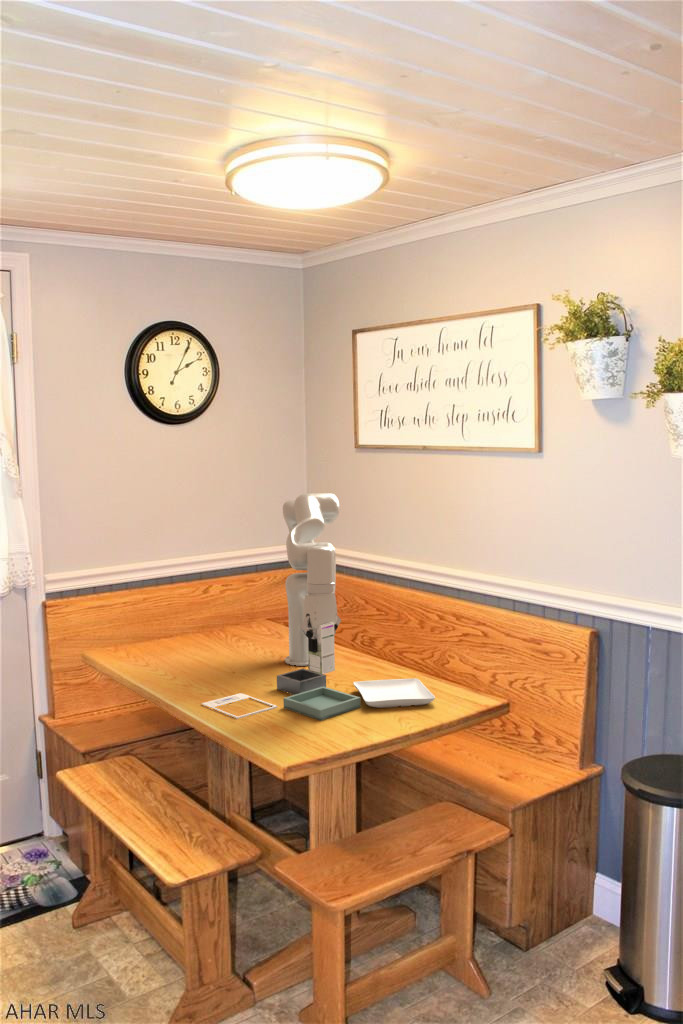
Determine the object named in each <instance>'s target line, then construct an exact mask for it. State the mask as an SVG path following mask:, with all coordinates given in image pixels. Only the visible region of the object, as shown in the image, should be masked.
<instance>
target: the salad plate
mask: <svg viewBox="0 0 683 1024" xmlns="http://www.w3.org/2000/svg"><path fill="white" fill-rule="evenodd" d="M352 685H353V686H354V688H355V689H356V690H357V691H358V692H359V694H360V696H361V697H362V699H363V701H364V703H365V704H366V705H368V706H369V707H372V708H379V709H380V708H382V709H383V708H399V707H398V706H401V707H411V705H415V706H423V705H428V704H430V703H432V702H434V700H435V699H436V696H435V695H434V694H433V693H432V692H431V691H430V690H429V689H428V687H426V686H425V684H424V683H422V681H421V680H420V679H419V678H416V677H414V678H396V679H395V678H394V679H377V680H374V679H373V680H363V681H362V680H361V681H353V682H352Z"/></svg>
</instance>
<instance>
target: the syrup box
mask: <svg viewBox="0 0 683 1024" xmlns="http://www.w3.org/2000/svg"><path fill="white" fill-rule="evenodd" d="M308 627H309V625H308ZM311 627H312V625H311ZM312 633H313V630H312ZM315 639H317V652H316V653H314V652H310V651H309V649H308V660H309V666H308V670H309V671H312V672H315V673H319V674H324V675H326V674H330V673H331V672H334V671H336V663H335V635H334V623H333V622H331V623H325V624H322V625H320V626H319V628H318V629H317V634H316V638H315Z"/></svg>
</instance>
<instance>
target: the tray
mask: <svg viewBox="0 0 683 1024" xmlns="http://www.w3.org/2000/svg"><path fill="white" fill-rule="evenodd" d="M361 703H362V701H361V696H356V695H353V694H350V693H346V692H343V691H340V690H336V689H334V688H330V687H327V686H326V687H320V688H316V689H313V690H309V691H306V692H303V693H299V694H296V695H293V694H291V695H290V696H286V697H283V709H285V710H287V711H291V712H293V713H297V714H300V715H302V716H306V717H309V718H312V719H315V720H317V721H320V722H321V721H325V720H326V719H330V718H334V717H336V716H340V715H342V714H345V713H349V712H351V711H354V710H357V709H360V708H361V707H362V706H361Z"/></svg>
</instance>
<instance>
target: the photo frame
mask: <svg viewBox="0 0 683 1024" xmlns="http://www.w3.org/2000/svg"><path fill="white" fill-rule="evenodd" d="M247 698H252V699H254V700H253V701H255V700H257V701H259V702H258V703H260V702H262V703H261V704H263V703H264V704H263V705H266V704H267V705H266V706H268V705H269V707H266V708H262V709H259V710H256V711H252V712H248V713H245V714H242V715H238V716H237V715H235V714H232V713H230V712H227V711H224V710H222V709H220V708H215V707H217V706H221V705H225V704H228V703H232V702H236V701H240V700H243V701H245V700H244V699H247ZM252 699H251V700H252ZM247 700H248V699H247ZM257 701H256V702H257ZM240 702H241V701H240ZM236 703H237V702H236ZM201 704H202V705H204V706H203V707H205V706H208V707H210V708H213V709H215V710H217V711H220V712H222V713H224V714H223V715H225V714H227V715H229V716H228V717H230V716H232V717H234V718H233V719H235V718H236V719H235V720H239V718H241V719H243V717H244V718H247V717H250V716H249V715H251V716H253V714H254V715H257V713H258V714H261V713H263V712H264V711H265V712H268V711H271V710H275V709H278V708H279V707H278V705H275V704H273V703H270V702H267V701H264V700H262V699H259V698H255V697H254V696H250V695H248V694H246V693H242V692H240V693H236V694H233V695H228V696H225V697H221V698H216V699H213V700H209V701H205V702H202V703H200V705H201ZM202 705H201V706H202ZM225 706H226V705H225ZM271 706H272V707H271ZM277 707H278V708H277ZM210 708H209V709H210ZM215 710H214V711H215ZM267 710H268V711H267ZM217 711H216V712H217ZM220 712H219V713H220ZM260 712H261V713H260ZM222 713H221V714H222ZM227 715H226V716H227ZM246 716H247V717H246ZM232 717H231V718H232Z"/></svg>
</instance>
